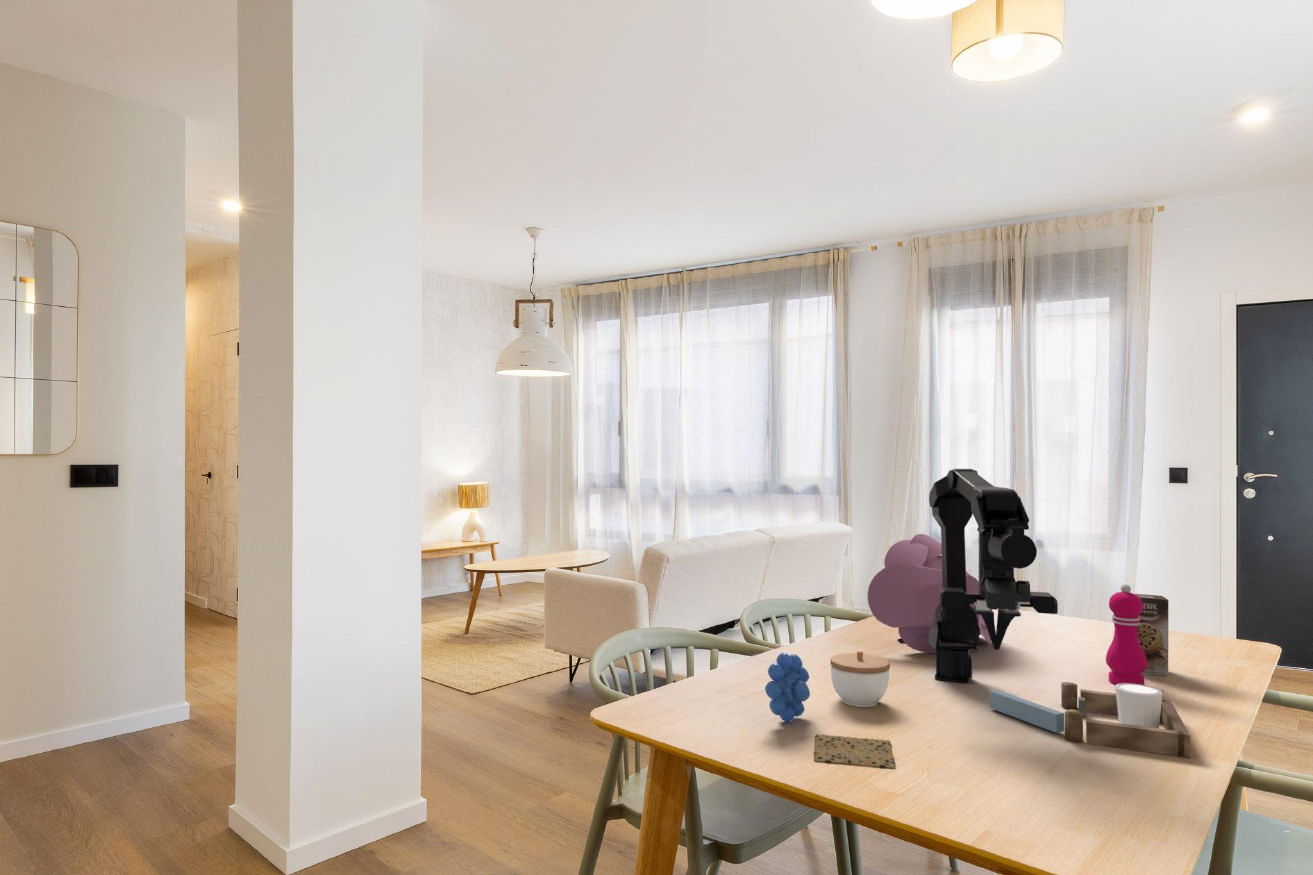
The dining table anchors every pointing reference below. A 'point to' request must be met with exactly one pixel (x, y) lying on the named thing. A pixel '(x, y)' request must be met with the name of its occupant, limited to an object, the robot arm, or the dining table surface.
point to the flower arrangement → (913, 590)
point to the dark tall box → (1154, 633)
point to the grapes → (787, 686)
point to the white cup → (1138, 704)
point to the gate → (1027, 711)
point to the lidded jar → (860, 678)
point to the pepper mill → (1126, 639)
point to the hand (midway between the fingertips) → (996, 649)
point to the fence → (1118, 734)
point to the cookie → (854, 751)
